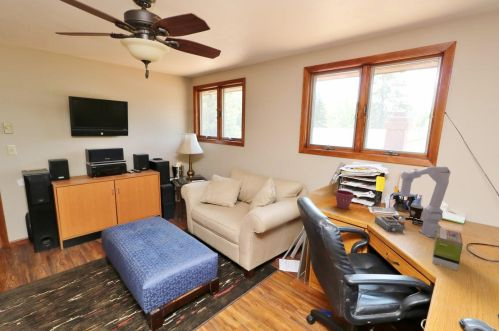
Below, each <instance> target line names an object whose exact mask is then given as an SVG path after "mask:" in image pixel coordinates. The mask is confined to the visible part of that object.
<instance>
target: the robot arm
mask: <svg viewBox="0 0 499 331" xmlns="http://www.w3.org/2000/svg"><path fill="white" fill-rule="evenodd" d="M423 175H428V176H429V177H430V178H431V179H432V180H433V181H434V182H435V186H434V189H433V192H432V195H431V198H430V200H429V204H428V205H427V206H426V207H424V209H423V211H422V214H421V218H422V220H423V222H422V228H421V229H418V232H420V233H422V234H423V235H425V236H426V237H428V238H434V239H435V238H436V233H437V228H442V226H441V225H440V224H439V223H440V221H442V219H443V214H444V211H443V209H441V206H442V202H443V200H444V197H445V195H446V191H447V189H448V186H449V182H450V176H451V171H450V169H449V167H447V166H426V167H425V168H422V169H417V168H413V170H408V171H403V172H402V173H401V175H400V177H401V179H402V181H401V187H400V192H393V196H394V198H395V199H394V200H395V202H396V206H399V205H400V199H401V197H405V198H408V203H407V205H408V206H407V207H409V208H410V206H411V204H413V202H414V201H415V200H416V199H417V197H418V195H417V194H414V193H411V190H412V183H413V181H414V180H415V179H418V178H421V177H422V176H423Z"/></svg>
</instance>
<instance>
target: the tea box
mask: <svg viewBox="0 0 499 331" xmlns="http://www.w3.org/2000/svg"><path fill="white" fill-rule="evenodd" d="M463 245H464V243H463V237H462V233H461V232H459V231H455V230H450V229H447V228H442V227H441V228H437V233H436V238H435V237H434V244H433V252H432V253H433V254H432V262H431V263H432V264H434V263H435V264H434V265H437V264H438V265H437V266H440V265H441V267H443V266H444V268H446V267H448V268H447V269H449V268H451V270H453V269H454V271H456V270H457V271H458V270H459V267H460V266H459V265H460V261H461V256H462V255H461V254H462V251H463ZM457 271H456V272H457Z"/></svg>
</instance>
